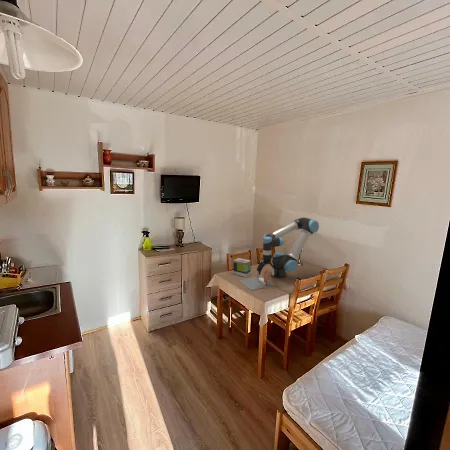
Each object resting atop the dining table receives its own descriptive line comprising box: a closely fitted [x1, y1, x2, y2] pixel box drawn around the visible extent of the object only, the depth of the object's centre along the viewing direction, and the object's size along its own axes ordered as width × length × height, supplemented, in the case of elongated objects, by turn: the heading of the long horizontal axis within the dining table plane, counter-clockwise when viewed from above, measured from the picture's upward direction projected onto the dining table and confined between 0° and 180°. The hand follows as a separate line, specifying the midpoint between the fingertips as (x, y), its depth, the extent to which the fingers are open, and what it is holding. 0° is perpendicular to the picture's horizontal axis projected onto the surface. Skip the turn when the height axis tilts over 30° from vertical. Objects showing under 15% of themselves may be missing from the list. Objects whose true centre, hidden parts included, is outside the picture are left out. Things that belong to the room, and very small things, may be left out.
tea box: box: [232, 257, 252, 278], centre depth 253 cm, size 15×10×15 cm, turn 56°
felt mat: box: [238, 276, 274, 292], centre depth 234 cm, size 24×22×1 cm
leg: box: [258, 269, 269, 285], centre depth 232 cm, size 11×4×13 cm, turn 25°
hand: (266, 276), depth 228 cm, fingers open, 13 cm apart
